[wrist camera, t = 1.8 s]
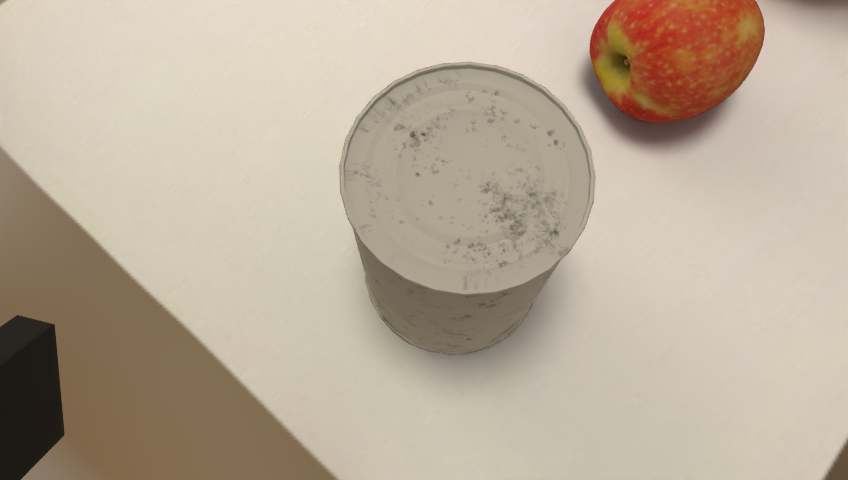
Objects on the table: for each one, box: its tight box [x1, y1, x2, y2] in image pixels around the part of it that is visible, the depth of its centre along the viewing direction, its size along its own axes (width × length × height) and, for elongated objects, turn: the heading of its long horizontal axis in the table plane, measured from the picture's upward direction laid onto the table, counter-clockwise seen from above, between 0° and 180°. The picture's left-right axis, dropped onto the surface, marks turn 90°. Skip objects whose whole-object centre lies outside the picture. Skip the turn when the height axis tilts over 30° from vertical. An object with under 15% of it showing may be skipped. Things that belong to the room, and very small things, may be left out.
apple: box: [590, 0, 765, 122], centre depth 36 cm, size 8×8×8 cm
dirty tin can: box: [340, 62, 595, 354], centre depth 30 cm, size 10×10×12 cm
